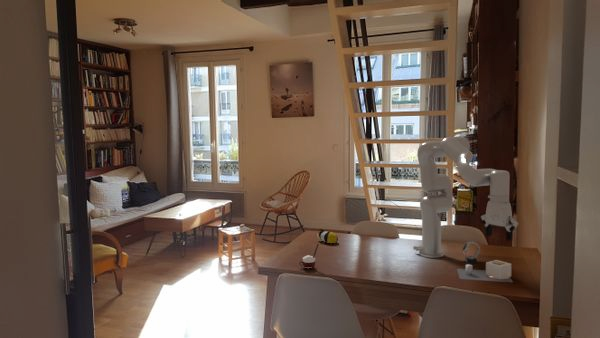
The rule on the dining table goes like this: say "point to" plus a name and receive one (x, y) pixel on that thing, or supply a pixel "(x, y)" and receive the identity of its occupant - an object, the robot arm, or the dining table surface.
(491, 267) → the square hollow frame
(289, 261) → the dining table surface
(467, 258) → the watch
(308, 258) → the cocoa
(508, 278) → the hub
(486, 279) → the board
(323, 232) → the figurine
